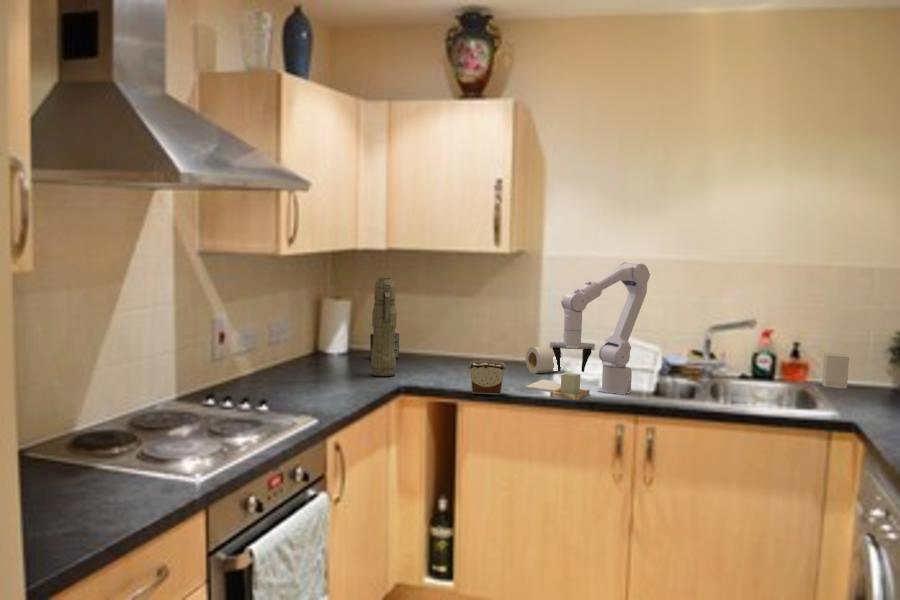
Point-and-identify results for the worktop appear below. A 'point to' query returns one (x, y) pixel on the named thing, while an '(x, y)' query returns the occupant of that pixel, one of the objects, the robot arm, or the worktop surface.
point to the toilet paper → (540, 359)
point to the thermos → (384, 328)
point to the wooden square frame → (569, 396)
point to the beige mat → (544, 386)
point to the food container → (487, 376)
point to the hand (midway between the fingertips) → (570, 370)
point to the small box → (395, 345)
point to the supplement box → (835, 370)
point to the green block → (570, 383)
